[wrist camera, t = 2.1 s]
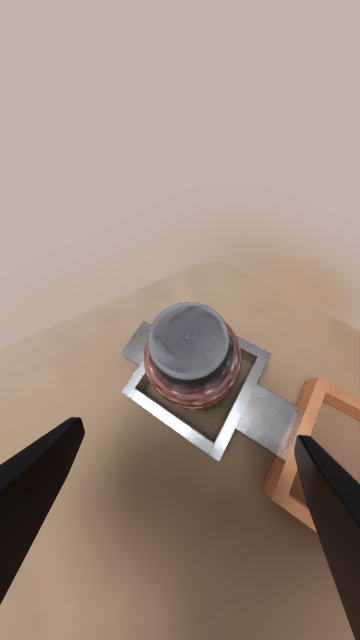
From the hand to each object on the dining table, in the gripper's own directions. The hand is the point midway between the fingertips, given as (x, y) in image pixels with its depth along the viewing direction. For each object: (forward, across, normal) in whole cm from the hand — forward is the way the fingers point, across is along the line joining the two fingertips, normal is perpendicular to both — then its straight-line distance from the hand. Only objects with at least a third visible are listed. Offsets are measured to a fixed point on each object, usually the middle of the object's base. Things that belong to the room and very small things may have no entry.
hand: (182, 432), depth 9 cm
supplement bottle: (+11, 0, +5) cm, 12 cm away
